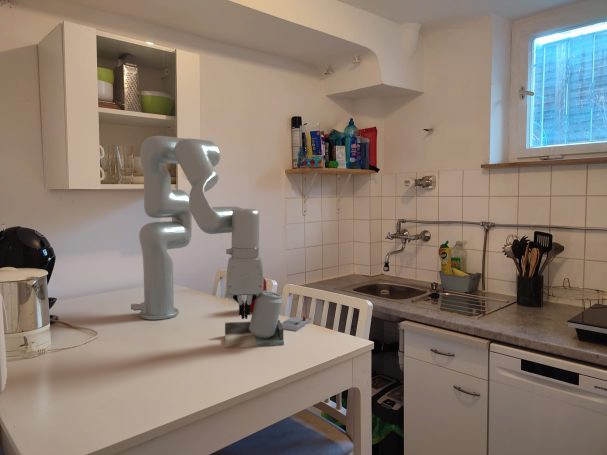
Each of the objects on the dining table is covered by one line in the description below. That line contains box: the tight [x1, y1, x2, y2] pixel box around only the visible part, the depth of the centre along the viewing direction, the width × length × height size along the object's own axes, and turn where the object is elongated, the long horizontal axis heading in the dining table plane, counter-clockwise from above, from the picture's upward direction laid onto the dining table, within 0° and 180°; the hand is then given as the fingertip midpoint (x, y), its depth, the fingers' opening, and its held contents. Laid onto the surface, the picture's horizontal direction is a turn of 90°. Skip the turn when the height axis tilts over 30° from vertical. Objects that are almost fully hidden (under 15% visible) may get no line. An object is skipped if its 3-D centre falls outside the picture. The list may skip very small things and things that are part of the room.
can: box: [249, 290, 283, 338], centre depth 126 cm, size 8×8×12 cm
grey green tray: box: [224, 319, 285, 349], centre depth 126 cm, size 16×10×4 cm, turn 100°
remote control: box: [281, 316, 312, 332], centre depth 141 cm, size 7×16×3 cm, turn 155°
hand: (244, 317), depth 126 cm, fingers closed
